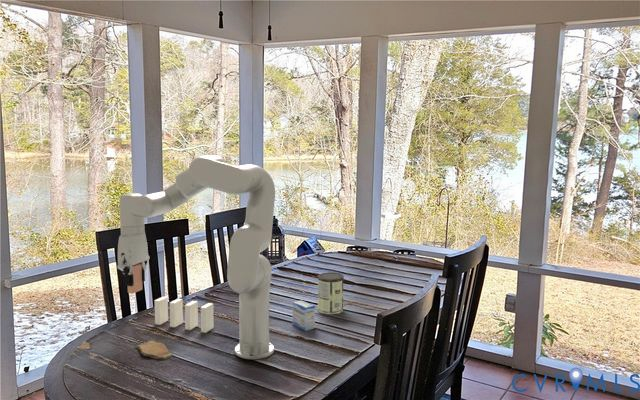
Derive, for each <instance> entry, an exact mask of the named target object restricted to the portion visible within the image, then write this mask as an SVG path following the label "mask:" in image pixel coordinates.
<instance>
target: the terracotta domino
mask: <svg viewBox="0 0 640 400" xmlns="http://www.w3.org/2000/svg"><path fill="white" fill-rule="evenodd" d="M127 269H128V270H129V267H127ZM132 274H133V282H134V285H133V286H127V293H128V294H130V295H131V294H136V293H137V292H140V291H142V290H144V289H143V282H142V264H135V265H133V268H132Z"/></svg>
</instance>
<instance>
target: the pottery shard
mask: <svg viewBox="0 0 640 400" xmlns="http://www.w3.org/2000/svg"><path fill="white" fill-rule="evenodd" d="M135 348H136V349H137V350H138V351H140V354H142V355H143V356H145V357H148V358H151V359H155V360H167V359H169V358H170V357H172V353H171V352H170V350H168V348H167V346H166V345H165V344H164V343H162V342H159V341H158V342H156V341H155V340H148V341H146V342H144V343H142V344H141V343H140V344H138V345H135Z"/></svg>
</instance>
